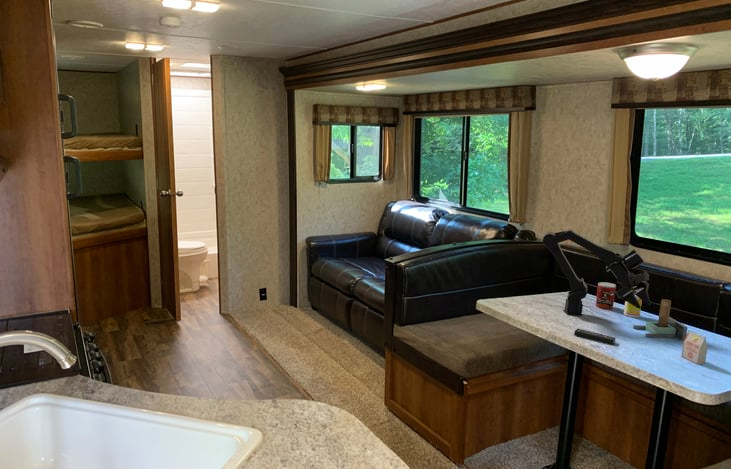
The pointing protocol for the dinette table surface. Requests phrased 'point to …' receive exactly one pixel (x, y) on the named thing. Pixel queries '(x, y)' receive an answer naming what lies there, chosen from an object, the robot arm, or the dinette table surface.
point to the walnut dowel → (664, 313)
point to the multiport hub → (594, 336)
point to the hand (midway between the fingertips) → (645, 306)
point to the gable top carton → (695, 348)
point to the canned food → (605, 295)
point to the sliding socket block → (659, 328)
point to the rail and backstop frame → (680, 334)
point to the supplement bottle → (632, 309)
